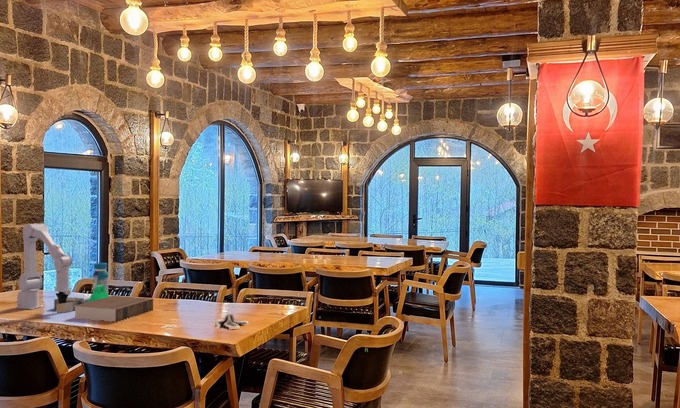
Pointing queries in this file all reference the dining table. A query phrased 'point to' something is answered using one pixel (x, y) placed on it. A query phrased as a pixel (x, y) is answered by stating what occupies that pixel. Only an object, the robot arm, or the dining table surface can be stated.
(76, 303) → the camera body
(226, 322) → the cloth
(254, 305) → the dining table surface
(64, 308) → the side door
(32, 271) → the robot arm
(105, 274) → the beverage bottle
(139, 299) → the book
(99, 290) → the camera mount
